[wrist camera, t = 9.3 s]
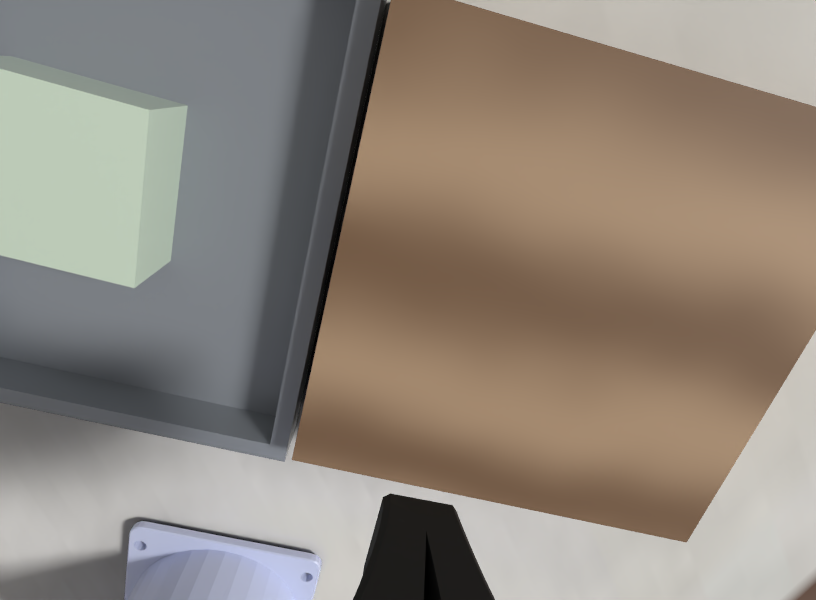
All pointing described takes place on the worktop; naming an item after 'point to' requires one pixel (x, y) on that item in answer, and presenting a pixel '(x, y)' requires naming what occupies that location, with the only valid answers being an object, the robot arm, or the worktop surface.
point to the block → (87, 173)
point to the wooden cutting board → (561, 273)
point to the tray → (201, 217)
